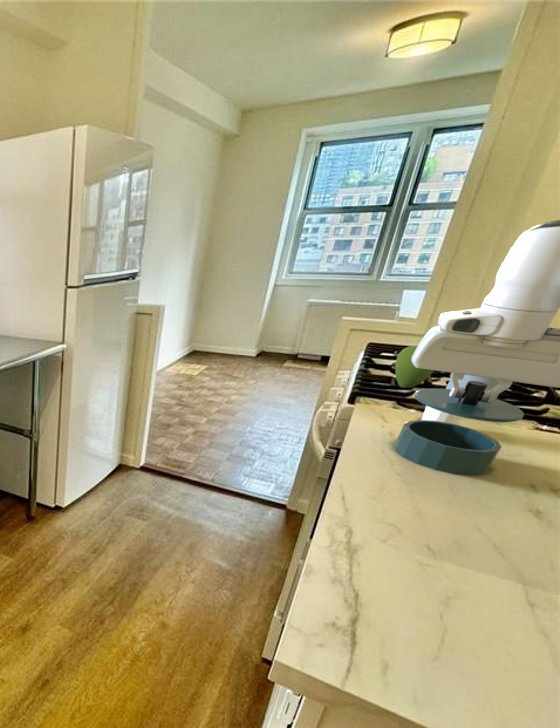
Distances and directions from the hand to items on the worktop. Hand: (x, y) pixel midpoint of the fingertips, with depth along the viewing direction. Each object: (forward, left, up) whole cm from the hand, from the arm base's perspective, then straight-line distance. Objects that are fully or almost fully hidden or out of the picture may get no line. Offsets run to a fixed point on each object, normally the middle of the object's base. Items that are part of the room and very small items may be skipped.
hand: (469, 399), depth 89 cm
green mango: (+1, -47, -13) cm, 49 cm away
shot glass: (-2, -19, -13) cm, 23 cm away
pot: (0, 0, -13) cm, 13 cm away
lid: (0, 0, -1) cm, 1 cm away
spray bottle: (-9, -37, -13) cm, 40 cm away
